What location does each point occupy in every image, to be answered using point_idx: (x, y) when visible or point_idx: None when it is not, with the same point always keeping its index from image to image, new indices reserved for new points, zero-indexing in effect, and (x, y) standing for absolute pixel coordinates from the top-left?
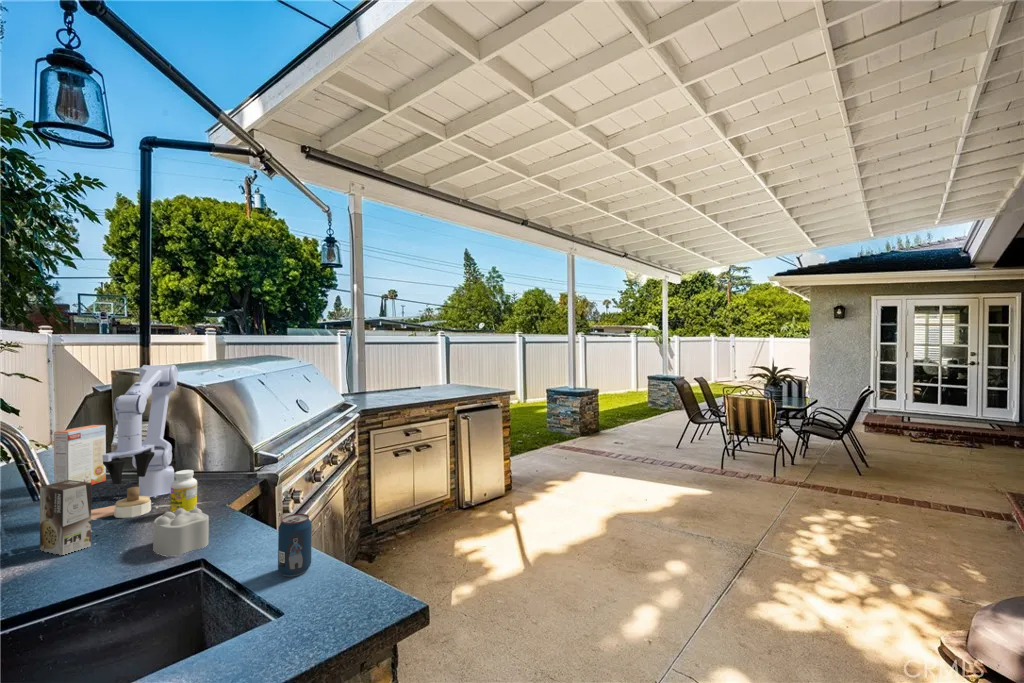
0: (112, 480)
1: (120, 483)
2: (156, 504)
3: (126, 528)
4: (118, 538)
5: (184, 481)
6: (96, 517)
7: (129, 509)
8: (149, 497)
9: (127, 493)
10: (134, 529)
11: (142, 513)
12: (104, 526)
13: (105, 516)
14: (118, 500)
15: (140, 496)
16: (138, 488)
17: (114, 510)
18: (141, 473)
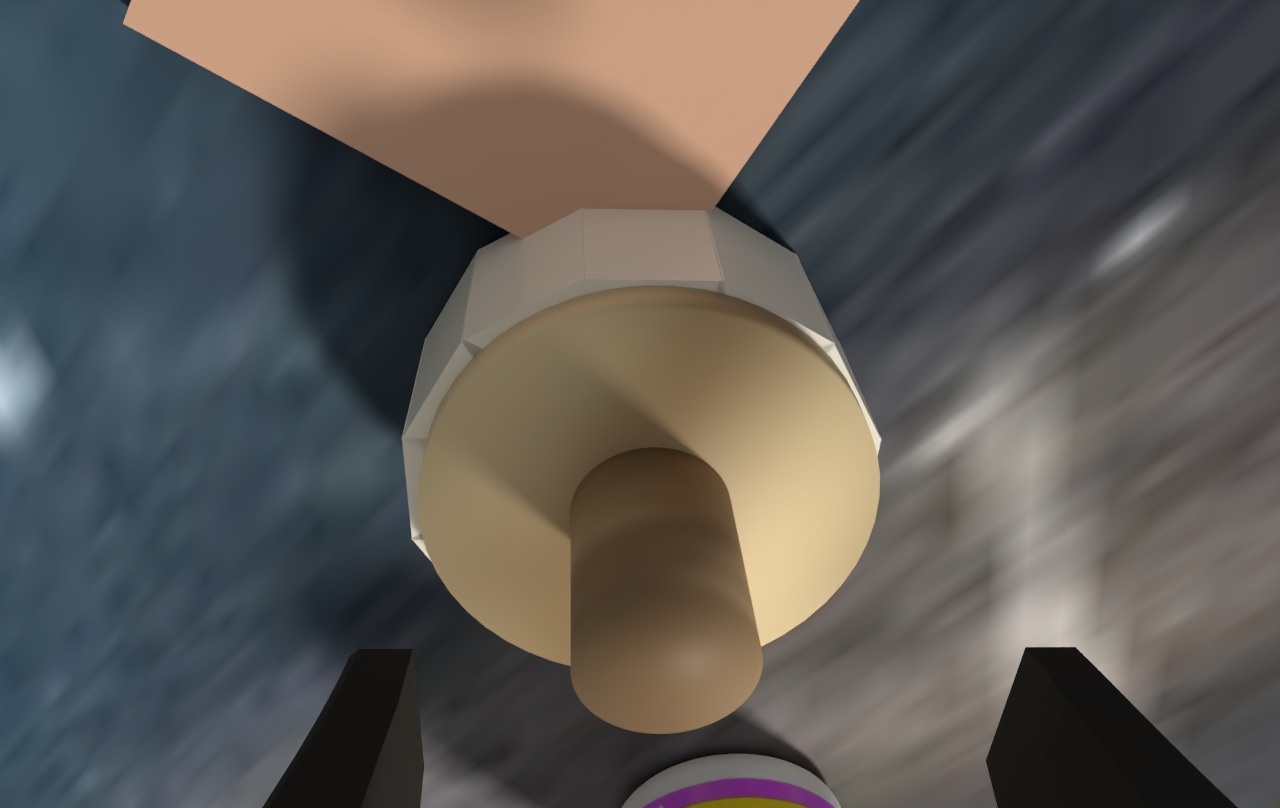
0: (325, 717)
1: (417, 768)
2: (1072, 334)
3: (244, 671)
4: (36, 792)
5: None
6: (325, 79)
7: None
8: (805, 617)
9: (579, 581)
10: (255, 746)
11: None
12: (187, 424)
13: (406, 176)
14: (588, 316)
15: (842, 470)
16: (698, 715)
17: (459, 318)
18: (1030, 798)
